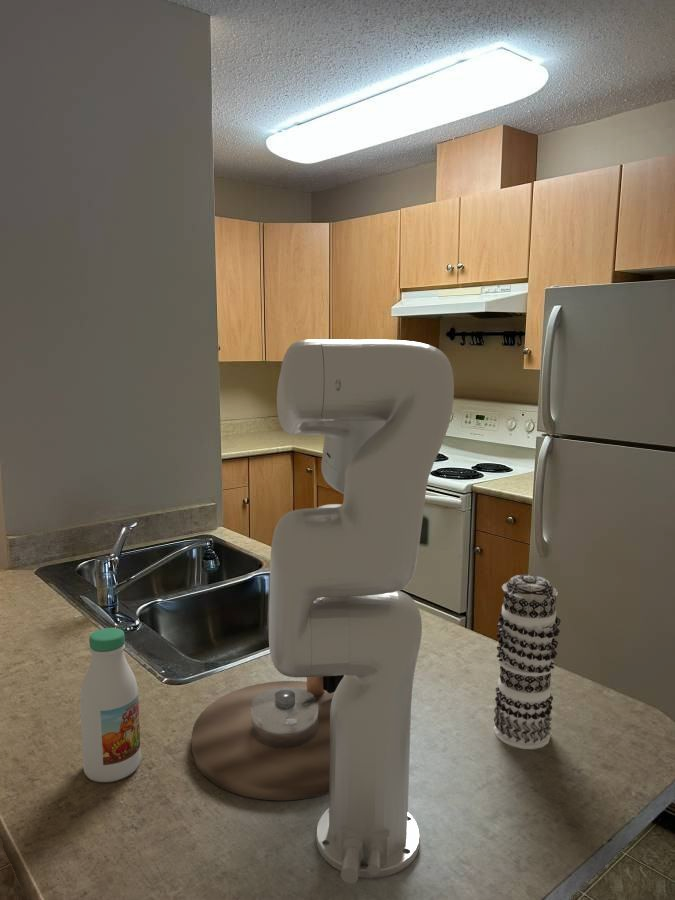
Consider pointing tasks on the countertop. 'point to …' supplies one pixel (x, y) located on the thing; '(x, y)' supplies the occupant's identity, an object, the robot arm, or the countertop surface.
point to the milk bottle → (109, 710)
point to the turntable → (262, 748)
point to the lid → (284, 717)
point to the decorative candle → (526, 662)
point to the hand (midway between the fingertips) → (333, 688)
